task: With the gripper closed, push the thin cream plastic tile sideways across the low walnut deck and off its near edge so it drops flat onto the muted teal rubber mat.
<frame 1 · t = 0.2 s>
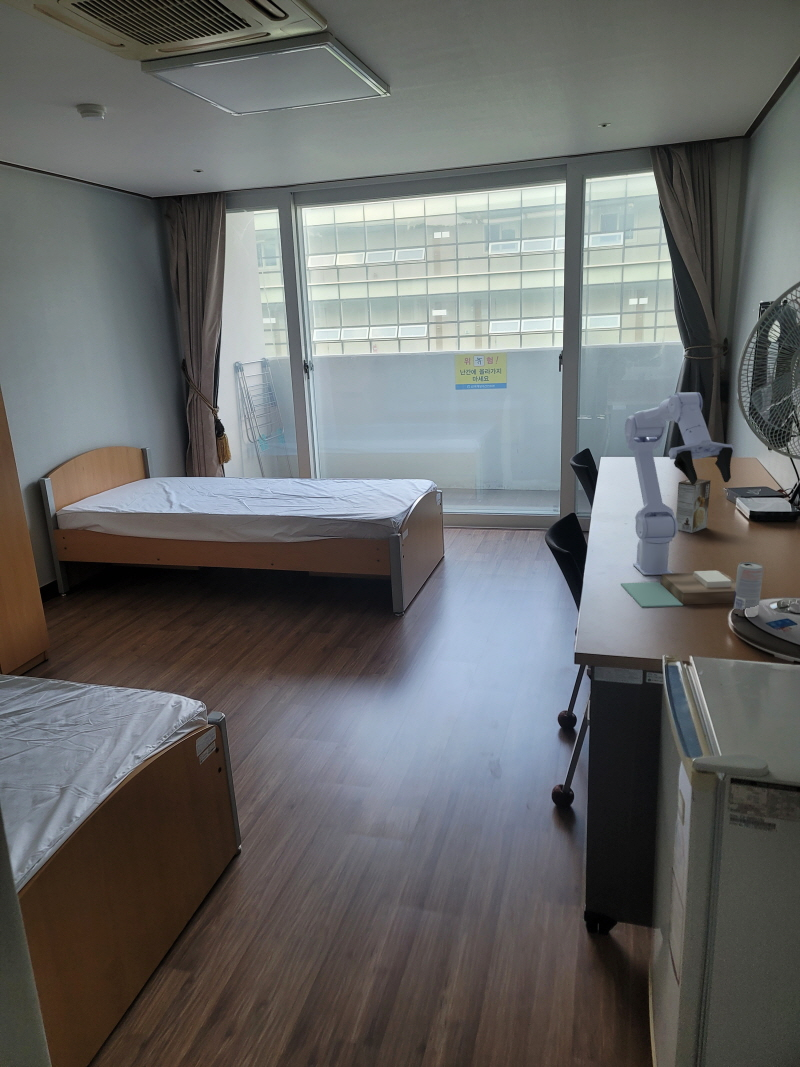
hand: (711, 480, 164), 31 cm above the table, tool tilted 45°, fingers open, 7 cm apart
teal mat: (650, 594, 182), on the table
cream tile: (711, 581, 182), point 3 cm above the table, touching walnut deck
energy drink: (745, 614, 169), on the table
coffee box: (690, 529, 239), on the table
walnut deck: (702, 593, 183), on the table
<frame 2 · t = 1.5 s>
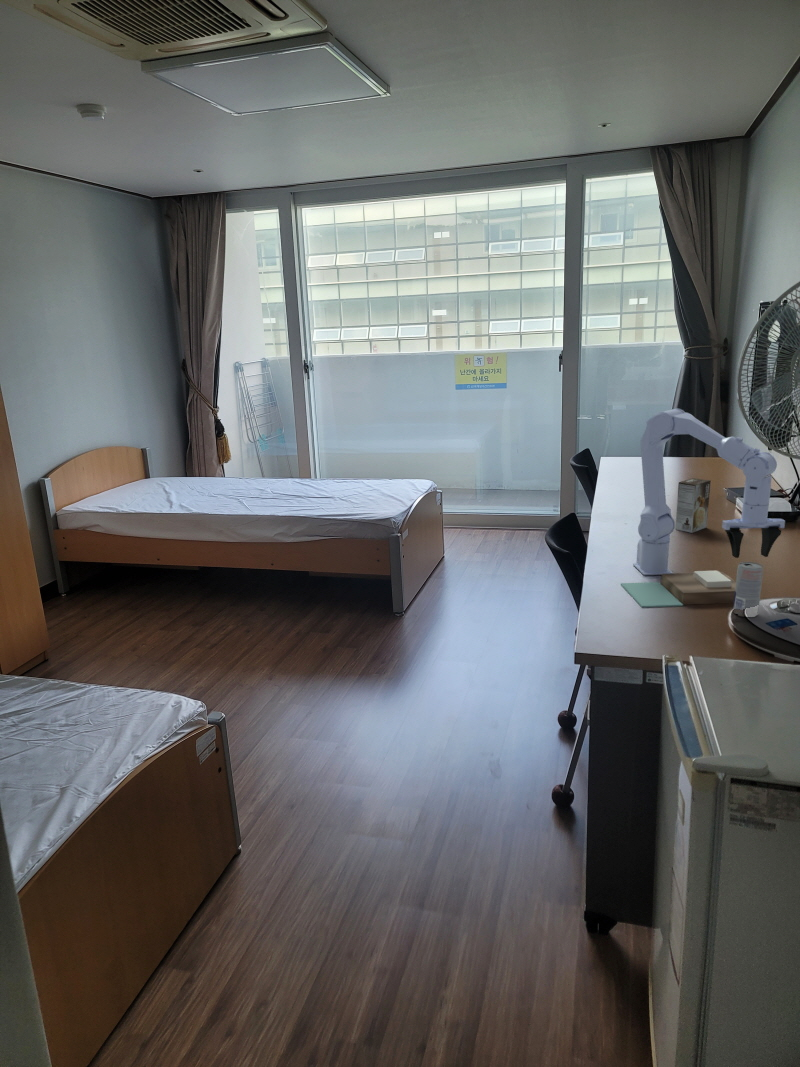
hand: (749, 556, 180), 9 cm above the table, tool pointing down, fingers open, 7 cm apart
nothing on the table moved.
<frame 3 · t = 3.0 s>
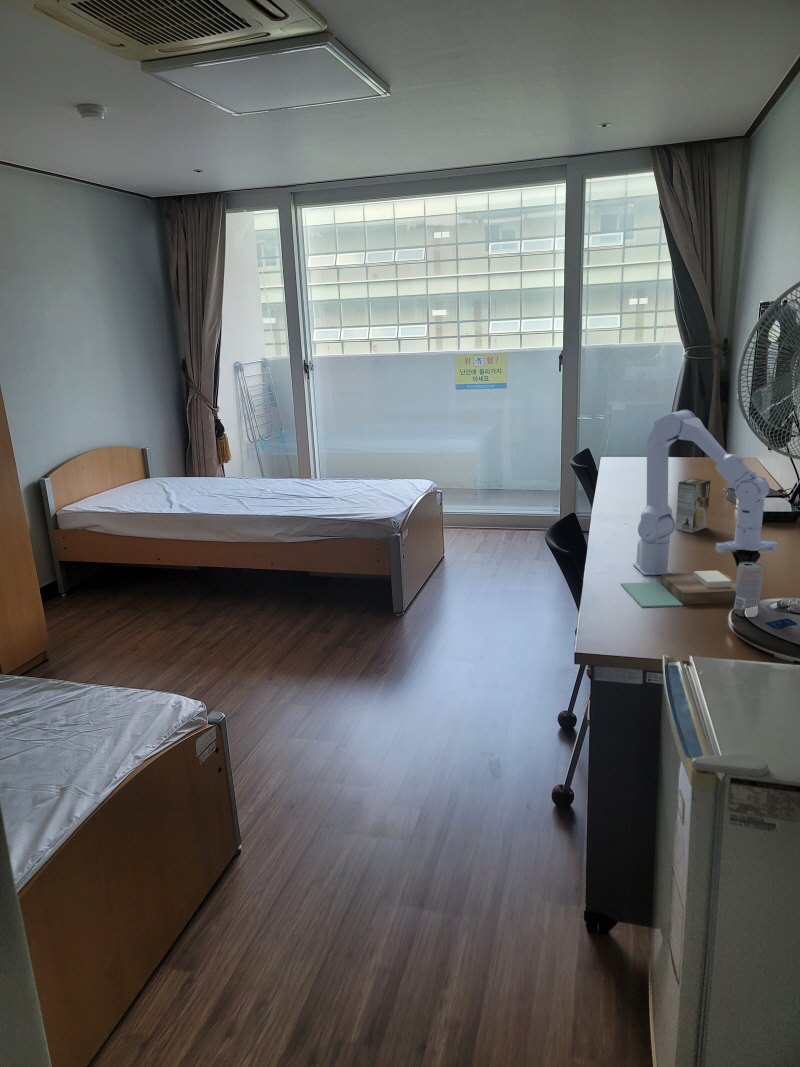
hand: (742, 578, 182), 4 cm above the table, tool pointing down, fingers closed
nothing on the table moved.
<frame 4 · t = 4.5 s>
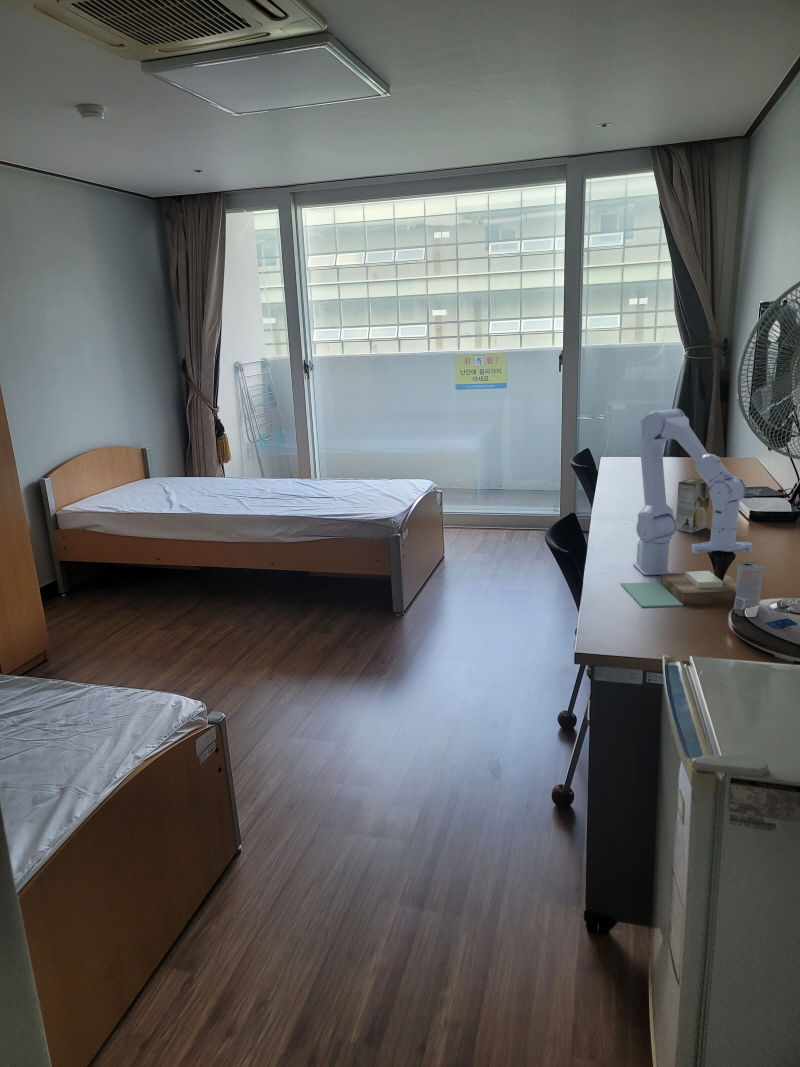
hand: (718, 579, 182), 4 cm above the table, tool pointing down, fingers closed
cream tile: (703, 582, 182), point 3 cm above the table, touching gripper, walnut deck
everything else where it was.
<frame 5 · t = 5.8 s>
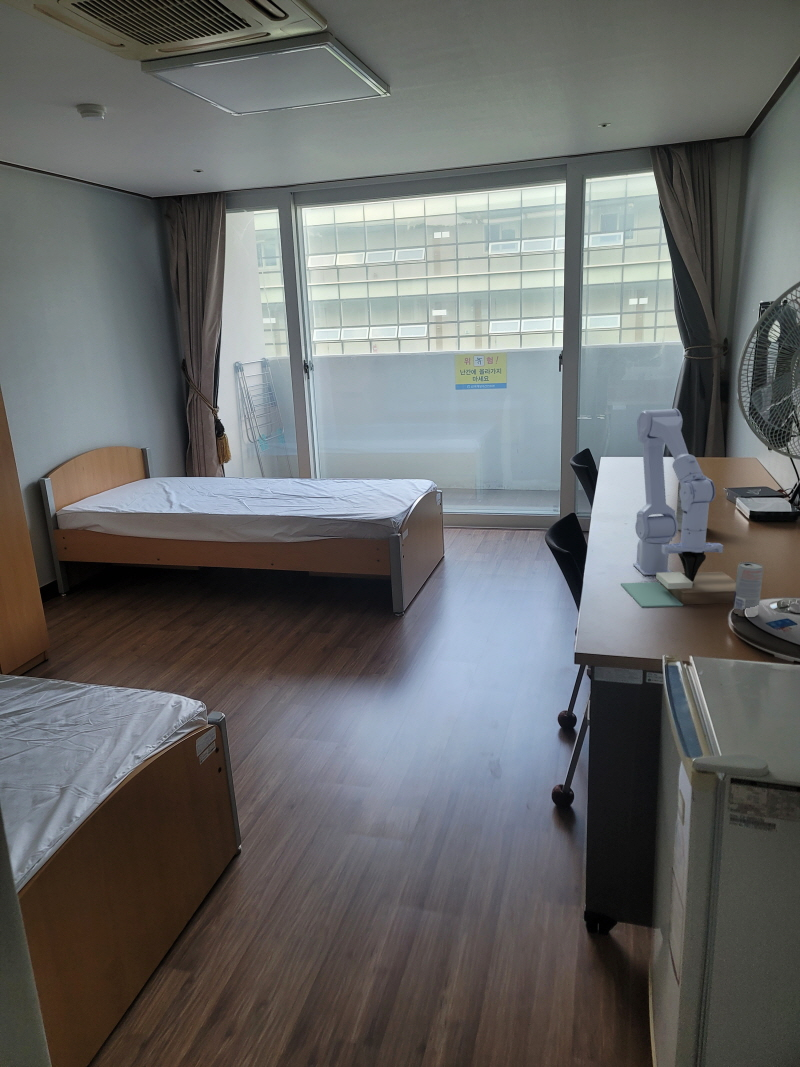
hand: (689, 580, 182), 4 cm above the table, tool pointing down, fingers closed
cream tile: (673, 583, 182), point 3 cm above the table, touching walnut deck
everything else where it was.
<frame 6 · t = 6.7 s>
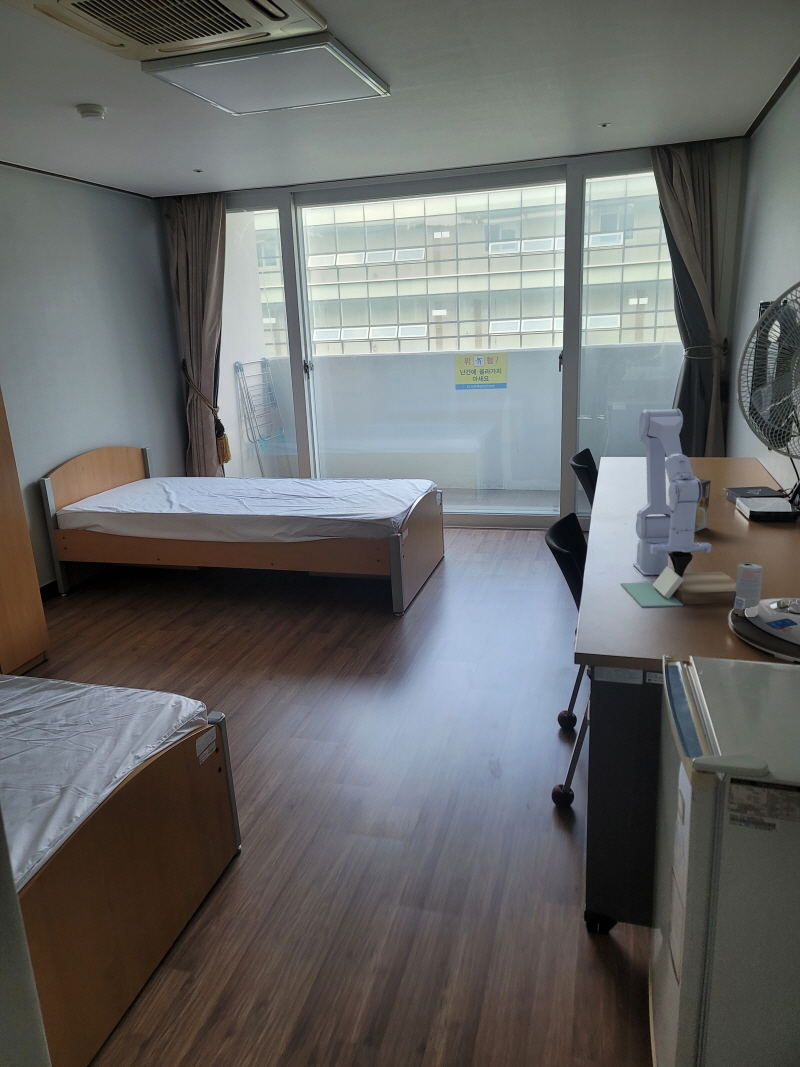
hand: (678, 580, 181), 4 cm above the table, tool pointing down, fingers closed, pressing on cream tile
cream tile: (670, 583, 182), point 3 cm above the table, tilted 56°, touching gripper, teal mat
everything else where it was.
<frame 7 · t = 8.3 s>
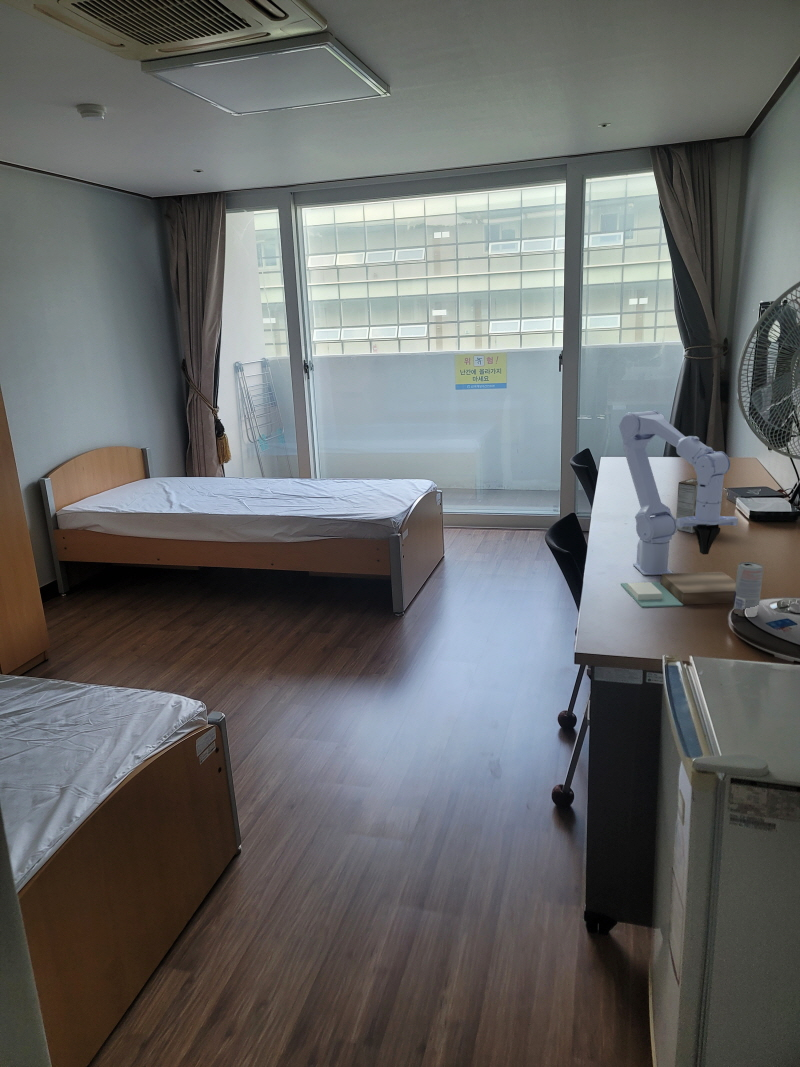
hand: (704, 553, 183), 9 cm above the table, tool pointing down, fingers closed
cream tile: (644, 588, 182), point 2 cm above the table, tilted 180°, touching teal mat
everything else where it was.
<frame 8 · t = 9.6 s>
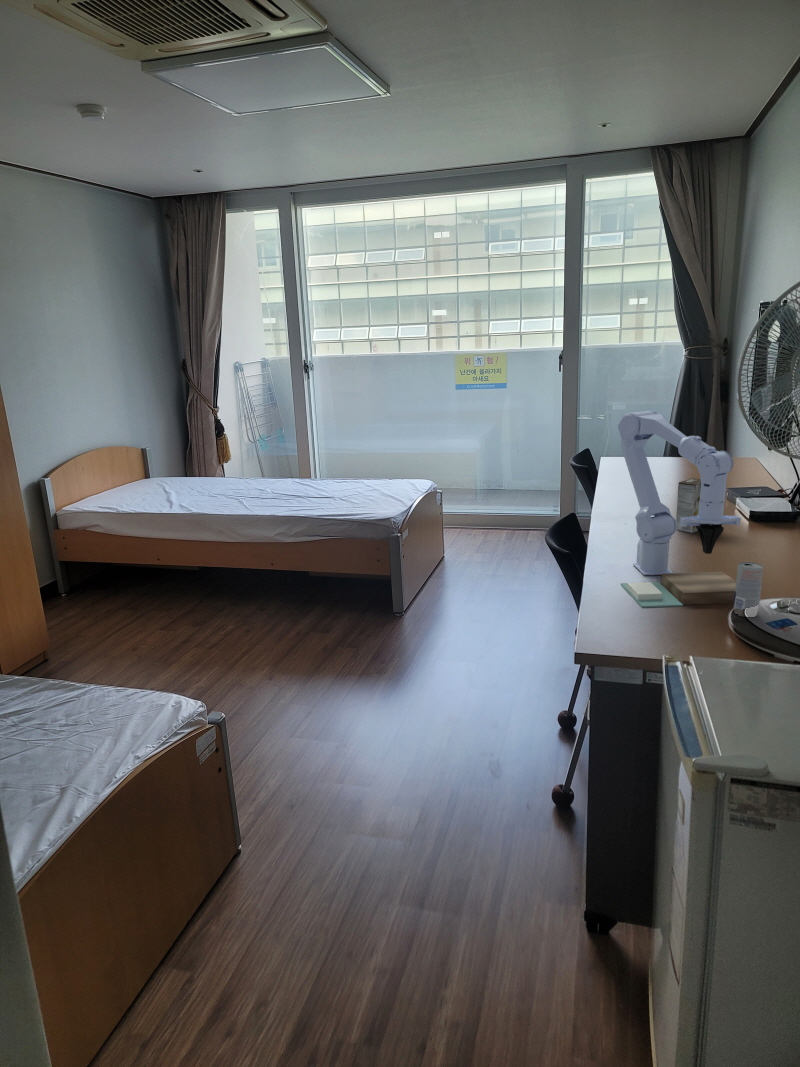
hand: (707, 552, 184), 9 cm above the table, tool pointing down, fingers closed
nothing on the table moved.
at the end: cream tile inside the target area (1.7 cm from its centre), point 1.9 cm above the table; cream tile touching teal mat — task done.
